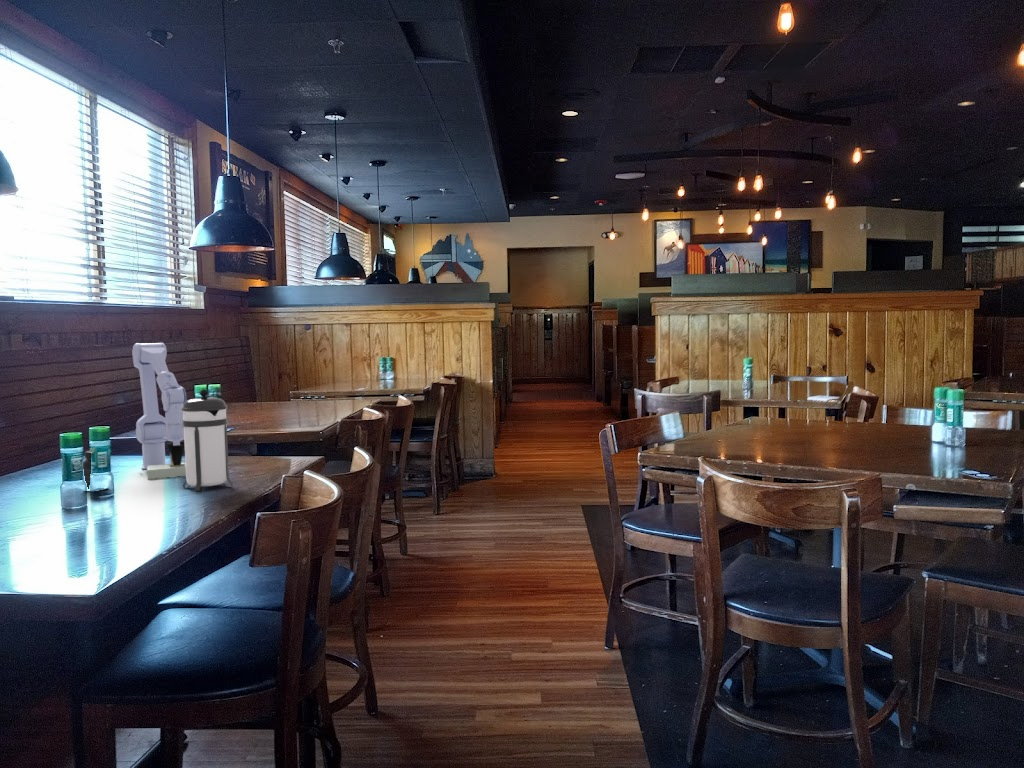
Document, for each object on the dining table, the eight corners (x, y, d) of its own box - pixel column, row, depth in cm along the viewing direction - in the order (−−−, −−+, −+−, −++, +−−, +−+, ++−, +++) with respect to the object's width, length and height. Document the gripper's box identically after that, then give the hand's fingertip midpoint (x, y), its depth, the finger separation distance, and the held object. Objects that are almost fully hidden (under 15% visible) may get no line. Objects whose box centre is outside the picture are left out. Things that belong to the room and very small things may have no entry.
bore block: (147, 474, 254) (147, 465, 254) (205, 469, 262) (205, 460, 261) (147, 479, 245) (147, 470, 245) (207, 474, 252) (206, 465, 252)
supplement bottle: (84, 489, 231) (82, 450, 230) (109, 486, 234) (107, 448, 233) (82, 493, 224) (79, 453, 224) (108, 490, 227) (106, 451, 226)
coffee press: (244, 482, 237) (240, 387, 235) (219, 493, 221) (215, 391, 219) (191, 482, 239) (187, 387, 237) (163, 492, 223) (158, 391, 221)
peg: (171, 470, 254) (170, 452, 253) (181, 469, 255) (179, 451, 254) (171, 471, 251) (169, 453, 251) (181, 470, 252) (179, 452, 252)
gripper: (161, 422, 257) (163, 462, 258) (162, 427, 244) (164, 468, 245) (184, 421, 260) (186, 460, 261) (185, 425, 247) (187, 466, 248)
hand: (177, 464), depth 253 cm, fingers closed on peg, 3 cm apart
